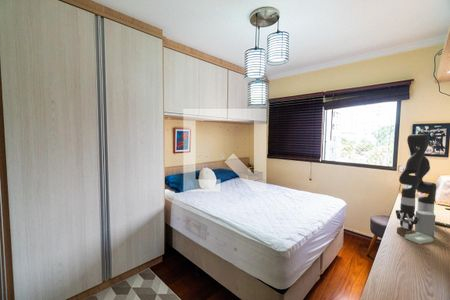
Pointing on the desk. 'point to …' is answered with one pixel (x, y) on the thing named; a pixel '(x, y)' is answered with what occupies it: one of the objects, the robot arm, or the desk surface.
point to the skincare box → (425, 223)
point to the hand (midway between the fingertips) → (406, 227)
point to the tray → (419, 238)
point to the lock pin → (405, 224)
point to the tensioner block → (404, 231)
